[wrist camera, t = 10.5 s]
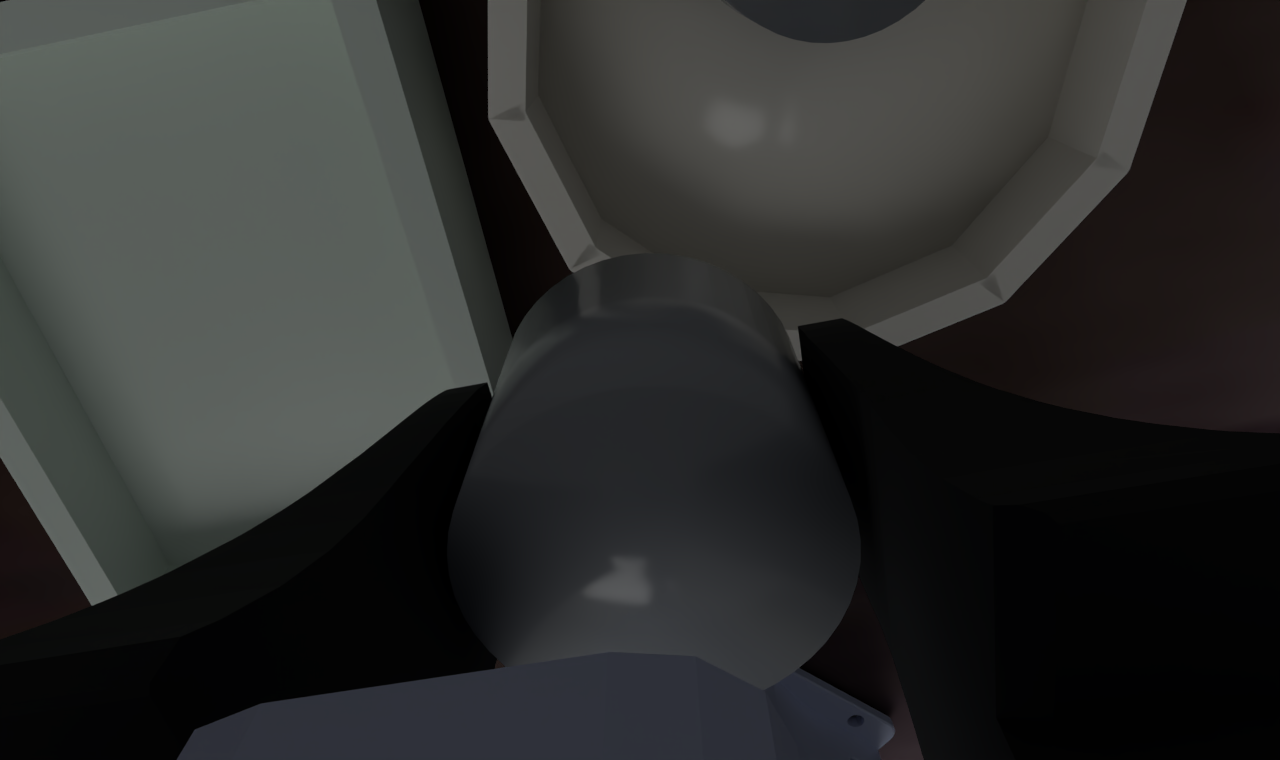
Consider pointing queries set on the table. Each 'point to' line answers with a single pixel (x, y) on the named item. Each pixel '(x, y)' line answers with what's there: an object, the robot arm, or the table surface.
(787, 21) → the pebble
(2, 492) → the table surface
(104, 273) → the parts tray
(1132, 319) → the table surface
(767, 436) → the pebble
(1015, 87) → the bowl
